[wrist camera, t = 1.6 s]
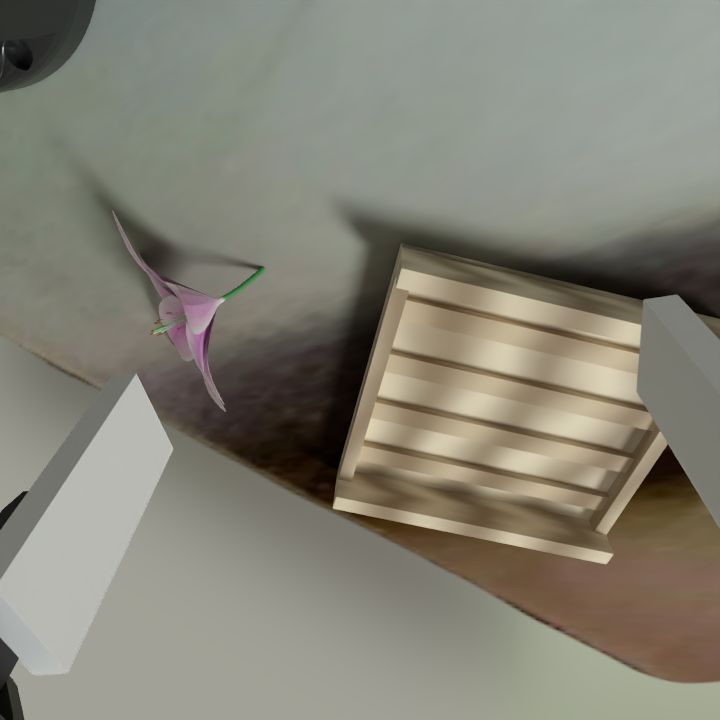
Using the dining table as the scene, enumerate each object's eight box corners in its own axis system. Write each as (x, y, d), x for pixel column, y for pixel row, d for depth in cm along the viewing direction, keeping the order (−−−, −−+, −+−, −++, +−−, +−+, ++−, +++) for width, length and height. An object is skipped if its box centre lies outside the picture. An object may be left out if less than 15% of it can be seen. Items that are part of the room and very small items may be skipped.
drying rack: (337, 470, 45) (332, 508, 41) (401, 242, 35) (401, 268, 31) (591, 523, 46) (606, 564, 43) (722, 319, 36) (756, 352, 33)
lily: (160, 147, 34) (22, 228, 28) (330, 224, 31) (215, 332, 25) (186, 294, 43) (86, 378, 37) (319, 364, 40) (233, 466, 34)
